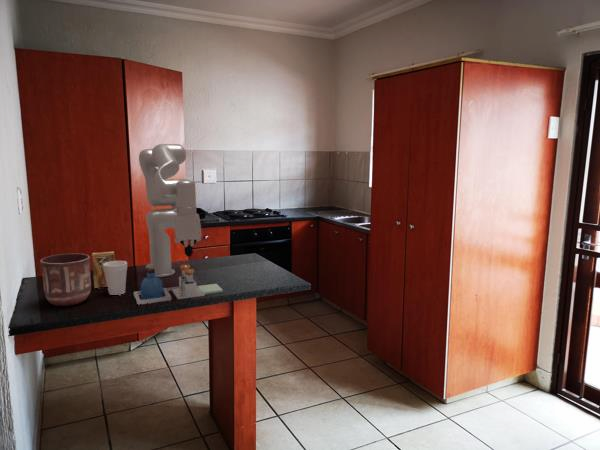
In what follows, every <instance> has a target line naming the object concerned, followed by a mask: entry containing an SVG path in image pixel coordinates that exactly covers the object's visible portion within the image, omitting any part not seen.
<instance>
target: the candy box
mask: <svg viewBox="0 0 600 450" xmlns="http://www.w3.org/2000/svg"><path fill="white" fill-rule="evenodd" d="M91 261H92V273H93V286H94V287H93V288H94V289H95V288H98V289H100V288H99V287H107V283H106V278H105V273H104V271H103V264H104V263H106V262H111V261H116V259H115V251H103V252H92V254H91Z"/></svg>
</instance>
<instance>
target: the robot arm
mask: <svg viewBox="0 0 600 450" xmlns="http://www.w3.org/2000/svg"><path fill="white" fill-rule="evenodd" d="M186 158H187V152H186V150H185V147H184V146H183V145H182V144H179V143H178V144H177V143H172V144H171V143H161V144H157V145H155V146H153V148H147V149H142V150H141V151H139V154H138V163H139V167H140V169H141V172H142V174H143V176H144V177H143V178H144V180H145V190H146V198H147V203H148V205H149V206H151V207H168V206H169V207H170V206H171V208H156V209H152V210H149V211H148V212H147V213H146V215H145V220H146V225H147V226H146V227H147V230H148V239H149V256H150V257H149V258H150V260H149V261H150V263H146V266H145V269H155V271H154V272H155V276H158V277H159V278H163V277H169V276H172V275H174V274H175V273H176V270H175V269H174V268H172V253H171V252H172V251H171V250H172V249H171V238H170V235H169V234H168V233H167V232H166V231H165V230H167V229H174V243H175V244H181V245H182V246H183V248H184V249H183V251H184V255H185V256H186V257H192V256H193V254H194V251H193V249H194V245H195V244H196V243H198V242H201V241H202V225H201V219H200V215H199V214H198V213H197V199H196V198H197V197H196V195H197V194H196V193H197V192H196V191H197V190H196V182H195V181H194V180H191V179H188V178H178V179H177V178H176V179H175V178H172V177H174V176H175V175H176V174H178V173H179V171H180V165H182V164H183V163H184V162H185V161H186ZM170 178H171V179H170Z"/></svg>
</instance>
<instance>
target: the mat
mask: <svg viewBox="0 0 600 450" xmlns="http://www.w3.org/2000/svg"><path fill="white" fill-rule="evenodd" d="M198 287H199V288H198ZM197 289H198V290H197V291H198V292H199V293H202V292H200V291H203V293H204V294H205V295H207V294H216V293H223V292H224V289H222V287H221V286H219V285H218V283H212V284H202V285H197ZM200 289H201V290H200Z"/></svg>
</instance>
